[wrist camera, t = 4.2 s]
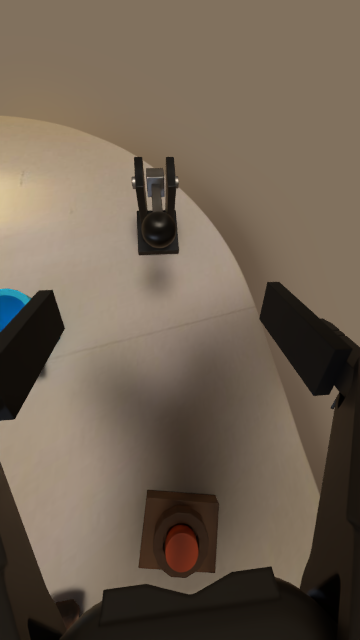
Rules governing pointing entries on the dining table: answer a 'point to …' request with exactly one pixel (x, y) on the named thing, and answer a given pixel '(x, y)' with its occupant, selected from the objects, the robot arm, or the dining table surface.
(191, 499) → the button block
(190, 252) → the dining table surface
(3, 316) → the mug
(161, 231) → the lever
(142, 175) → the bracket
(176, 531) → the button
